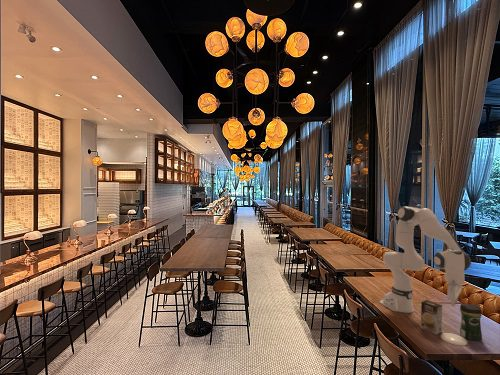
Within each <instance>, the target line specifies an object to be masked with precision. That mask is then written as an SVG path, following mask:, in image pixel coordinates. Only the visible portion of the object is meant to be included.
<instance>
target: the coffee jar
mask: <svg viewBox="0 0 500 375" xmlns="http://www.w3.org/2000/svg"><path fill="white" fill-rule="evenodd" d="M459 311H460V313H461V316H460V317H461V322H460V328H459V334H460V336H461V337H463V338H465V339H466V340H469V341H482V339H483V335H482V334H483V333H482V326H481V318H482V316H483V314H482V313H483V312H482V308H481V307H480V305H478V304H471V303H470V304H469V303H460V308H459Z"/></svg>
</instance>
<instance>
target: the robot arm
mask: <svg viewBox="0 0 500 375" xmlns="http://www.w3.org/2000/svg"><path fill="white" fill-rule="evenodd" d="M397 218H398V221H397V225H396V231H395V244H396V246H398V247H399V248H401V249H402V250H403V251H404V252H399V251H386V252H384V254H383V256H382V261H383V263H384V264H385V266H387V268H388V269H389V270H390V271H391V274H392V277H393V286H390V287H389V288H390V289H391V291H389V292H387V293H385V294H384V296H383V299H381V300H379V304H380V305H382V306H384V307H386V308H388V309H390V310H391V311H393V312H400V313H404V314H405V313H406V314H407V313H410V314H411V313H414V312H415V308H414V305H413V287H412V284H413V283H412V282H413V280H412V277H411V276H410V275H409V274H407V273H405V271H404V270H406V271H407V270H409V271H413V272H414V271H417V272H418V271H419V272H420V271H422V270H423V269H424V268H425V260H424V258H423V257H422V256H421V255H420V254H419V253H418V252H417V250H416V248H415V245H414V236H415V234H414V233H415V232H414V230H415V227H416V226H417V227H419V229H420V231H421V232H422V233H423V234H424V235H425V236H426V237H428V238H431V239H434V240H438V241H441V242H443V244H446V246H447V247H448V248H447V249H446V250H444V251H439V252H436V253H435V254H434V255H433V264H434V265H435V266H436V267H437V268H438V269H441V270H442V269H443V270H445V271H444V280H445V282H446V283H447V292H446V293H447V299H448V300H450V306H451V307H456V304H457V303H458V302H459V296H460V294H461V292H462V289H463V285H465V279H466V278H465V271H467V270H468V269H469V268H470V267H471V265H472V260H471V258H470V256H469V255H468V254H467V253H466V252H465V251H464V249H463V248H462V246H461V245H460V244H459V242H458V241H457V240H456V238H455V237H454V236H453V234H452V233H451V232H450V231H449V230H448V229H446V228H445V227H444V226H443V225H442V224H441V223H440V222H439V220H438V218H437V215H435V214H434V211H433V210H432V209H430V208H426V207H424V208H419V207H413V206H406V205H405V206H401V207H400V208H398V210H397Z"/></svg>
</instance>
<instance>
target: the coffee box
mask: <svg viewBox="0 0 500 375" xmlns="http://www.w3.org/2000/svg"><path fill="white" fill-rule="evenodd" d="M420 312H421V313H420V314H421V315H420V316H421V317H420V329H422V330H425V331H427V332H429V333H431V334H434V335H438V334H441V333H442V328H443V326H442V325H443V321H442V320H443V304H439V303H437V302H434V301H431V300H429V299H425V300H423V301H421V311H420Z"/></svg>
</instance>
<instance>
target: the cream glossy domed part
mask: <svg viewBox="0 0 500 375" xmlns="http://www.w3.org/2000/svg"><path fill="white" fill-rule="evenodd" d="M440 339H442V341H444V342H446V343H448V344H451V345H455V346H463V347H464V346H467V345H468V339H466V338H464V337H462V336H461V335H458V334H455V333H450V332H441V333H440Z"/></svg>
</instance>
